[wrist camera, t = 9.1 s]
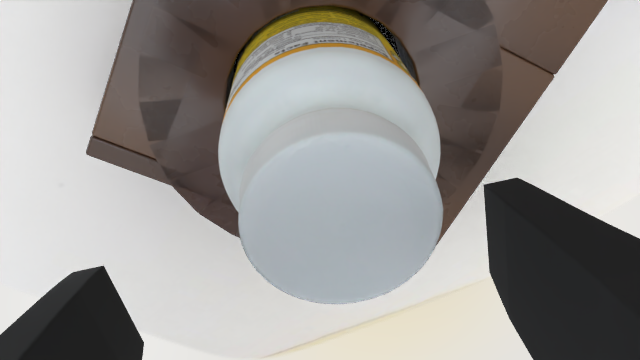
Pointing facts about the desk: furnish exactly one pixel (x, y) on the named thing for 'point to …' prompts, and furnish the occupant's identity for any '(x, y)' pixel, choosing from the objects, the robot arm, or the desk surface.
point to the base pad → (414, 51)
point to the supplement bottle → (330, 158)
